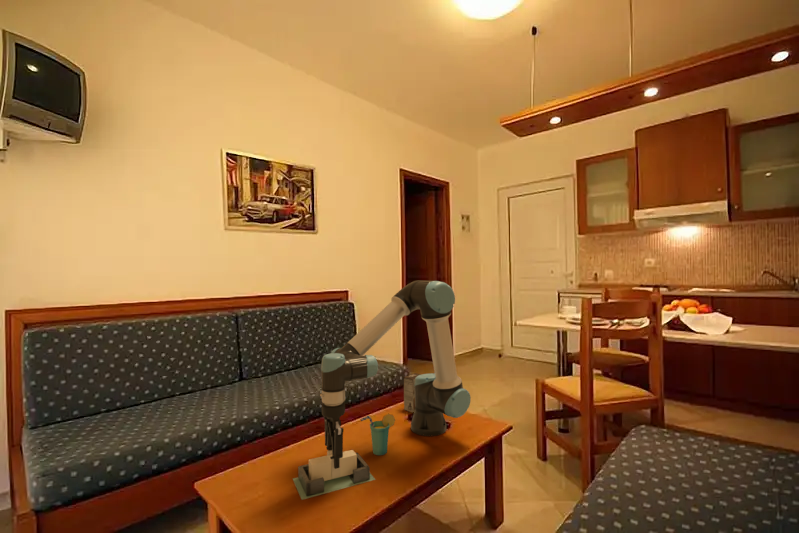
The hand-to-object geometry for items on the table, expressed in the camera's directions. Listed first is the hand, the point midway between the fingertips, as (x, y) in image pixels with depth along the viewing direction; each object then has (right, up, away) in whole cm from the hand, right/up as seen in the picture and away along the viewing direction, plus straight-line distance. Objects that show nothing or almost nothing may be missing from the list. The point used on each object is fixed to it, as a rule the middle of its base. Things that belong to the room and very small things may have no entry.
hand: (333, 473), depth 129 cm
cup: (+13, -2, +18) cm, 23 cm away
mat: (0, -2, 0) cm, 2 cm away
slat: (0, -1, 0) cm, 1 cm away
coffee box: (+29, -2, +63) cm, 69 cm away
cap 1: (-7, -2, -3) cm, 8 cm away
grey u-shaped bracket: (+7, -2, +3) cm, 8 cm away
